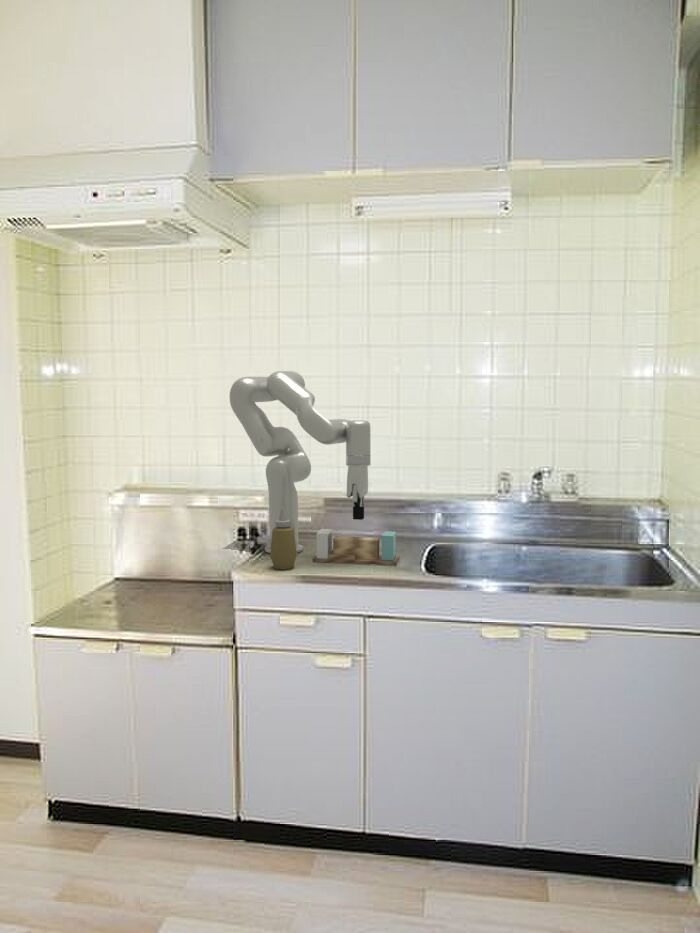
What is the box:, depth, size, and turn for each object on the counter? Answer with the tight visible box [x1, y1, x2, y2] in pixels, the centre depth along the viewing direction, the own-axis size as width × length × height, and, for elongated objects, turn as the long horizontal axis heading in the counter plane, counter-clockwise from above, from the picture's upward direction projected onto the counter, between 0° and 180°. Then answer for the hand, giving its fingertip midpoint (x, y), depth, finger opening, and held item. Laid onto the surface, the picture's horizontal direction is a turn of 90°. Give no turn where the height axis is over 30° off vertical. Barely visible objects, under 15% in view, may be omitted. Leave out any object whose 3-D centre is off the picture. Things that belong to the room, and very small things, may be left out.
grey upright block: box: [315, 528, 333, 559], centre depth 234 cm, size 4×7×8 cm, turn 170°
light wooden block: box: [332, 535, 380, 560], centre depth 232 cm, size 14×4×6 cm, turn 79°
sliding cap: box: [381, 530, 397, 561], centre depth 230 cm, size 4×7×8 cm, turn 170°
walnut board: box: [312, 549, 400, 566], centre depth 232 cm, size 26×9×2 cm, turn 80°
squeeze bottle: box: [269, 508, 298, 570], centre depth 222 cm, size 8×8×18 cm
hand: (358, 518), depth 231 cm, fingers closed
